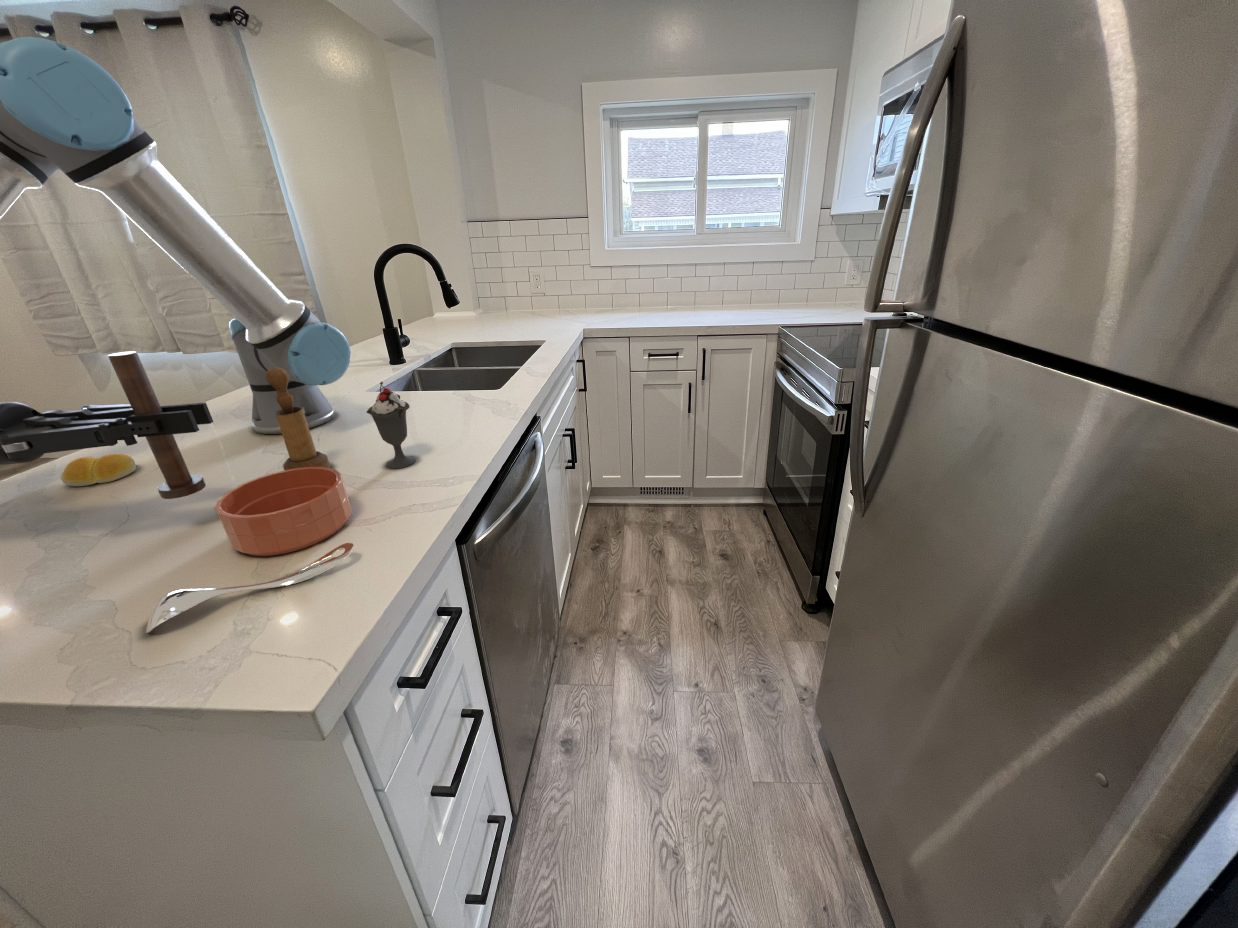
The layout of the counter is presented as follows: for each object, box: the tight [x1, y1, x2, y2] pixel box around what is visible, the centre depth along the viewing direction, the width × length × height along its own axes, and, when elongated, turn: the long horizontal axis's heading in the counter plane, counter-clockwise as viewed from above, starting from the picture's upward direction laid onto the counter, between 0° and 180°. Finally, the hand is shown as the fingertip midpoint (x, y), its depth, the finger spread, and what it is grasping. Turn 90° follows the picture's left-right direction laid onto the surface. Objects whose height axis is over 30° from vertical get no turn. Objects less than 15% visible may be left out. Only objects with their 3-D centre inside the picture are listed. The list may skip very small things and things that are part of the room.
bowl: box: [214, 467, 352, 557], centre depth 67 cm, size 14×14×6 cm
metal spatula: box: [145, 542, 355, 634], centre depth 55 cm, size 20×4×5 cm
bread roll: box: [60, 453, 137, 487], centre depth 86 cm, size 8×9×4 cm
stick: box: [107, 350, 207, 500], centre depth 64 cm, size 5×5×19 cm
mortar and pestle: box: [266, 368, 332, 471], centre depth 81 cm, size 7×6×18 cm
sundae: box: [365, 381, 417, 470], centre depth 84 cm, size 7×7×15 cm
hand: (200, 417), depth 64 cm, fingers closed on stick, 3 cm apart
